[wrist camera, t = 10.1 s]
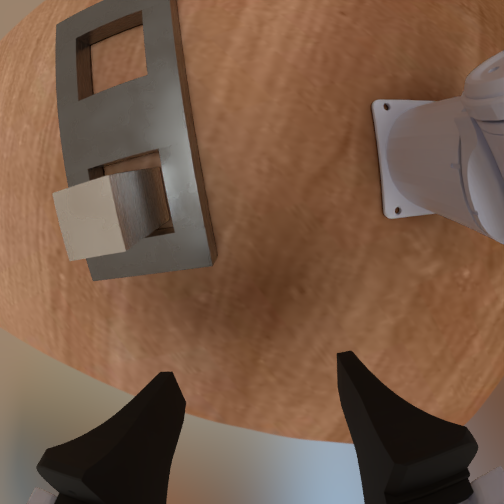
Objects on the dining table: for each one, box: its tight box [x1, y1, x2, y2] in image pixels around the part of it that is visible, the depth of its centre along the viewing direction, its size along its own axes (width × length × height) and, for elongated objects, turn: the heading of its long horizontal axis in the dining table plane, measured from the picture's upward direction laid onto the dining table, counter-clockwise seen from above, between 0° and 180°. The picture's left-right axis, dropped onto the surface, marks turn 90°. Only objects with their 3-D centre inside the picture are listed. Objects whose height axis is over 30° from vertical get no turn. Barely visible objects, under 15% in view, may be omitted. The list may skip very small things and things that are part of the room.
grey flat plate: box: [56, 0, 218, 281], centre depth 17 cm, size 9×20×2 cm, turn 9°
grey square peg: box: [52, 167, 170, 261], centre depth 16 cm, size 4×4×7 cm
